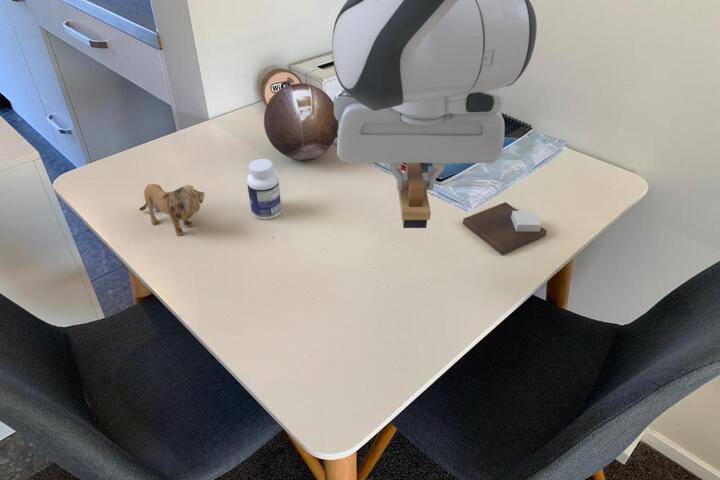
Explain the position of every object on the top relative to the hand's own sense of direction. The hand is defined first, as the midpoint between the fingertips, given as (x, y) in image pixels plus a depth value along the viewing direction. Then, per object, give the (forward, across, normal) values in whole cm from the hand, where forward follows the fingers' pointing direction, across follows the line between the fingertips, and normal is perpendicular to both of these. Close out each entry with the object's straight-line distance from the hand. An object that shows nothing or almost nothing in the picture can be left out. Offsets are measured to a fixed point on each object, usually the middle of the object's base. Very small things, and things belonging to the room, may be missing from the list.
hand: (414, 187), depth 68 cm
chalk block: (+16, +22, +14) cm, 30 cm away
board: (+18, +18, +14) cm, 29 cm away
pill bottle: (+18, -24, +19) cm, 35 cm away
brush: (+4, 0, 0) cm, 4 cm away
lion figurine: (+18, -39, +16) cm, 46 cm away
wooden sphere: (+18, -18, +40) cm, 47 cm away
